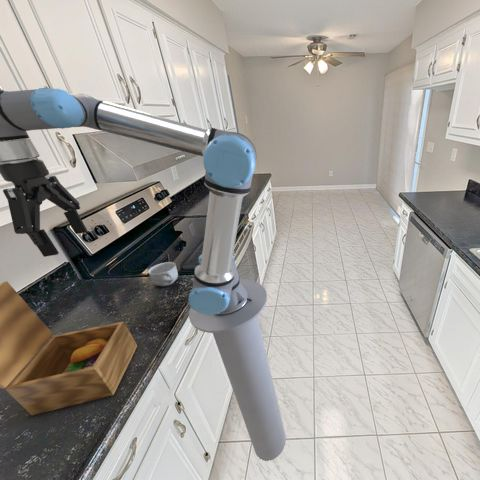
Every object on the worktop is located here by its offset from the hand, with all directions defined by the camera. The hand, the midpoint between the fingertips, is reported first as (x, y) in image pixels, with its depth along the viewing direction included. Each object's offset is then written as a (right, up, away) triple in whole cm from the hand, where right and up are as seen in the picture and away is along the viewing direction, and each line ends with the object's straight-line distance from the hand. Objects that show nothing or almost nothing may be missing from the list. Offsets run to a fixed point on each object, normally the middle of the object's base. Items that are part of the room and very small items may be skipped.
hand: (68, 243), depth 67 cm
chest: (0, -40, +7) cm, 40 cm away
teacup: (-1, -19, +47) cm, 51 cm away
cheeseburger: (+1, -38, +8) cm, 39 cm away
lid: (-11, -22, -4) cm, 25 cm away
